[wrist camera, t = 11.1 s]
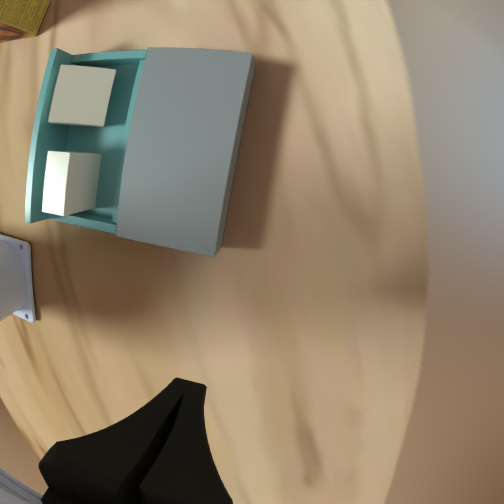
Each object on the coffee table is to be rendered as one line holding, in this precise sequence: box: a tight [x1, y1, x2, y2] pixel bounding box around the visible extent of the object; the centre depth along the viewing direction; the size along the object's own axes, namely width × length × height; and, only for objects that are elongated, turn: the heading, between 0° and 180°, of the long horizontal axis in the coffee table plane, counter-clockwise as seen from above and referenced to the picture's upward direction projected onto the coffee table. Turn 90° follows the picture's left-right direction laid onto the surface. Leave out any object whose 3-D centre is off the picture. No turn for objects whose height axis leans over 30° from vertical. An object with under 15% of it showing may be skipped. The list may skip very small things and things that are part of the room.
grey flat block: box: [116, 48, 256, 257], centre depth 19 cm, size 7×12×2 cm, turn 169°
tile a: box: [42, 151, 102, 216], centre depth 19 cm, size 4×4×2 cm
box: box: [25, 48, 147, 234], centre depth 18 cm, size 7×12×4 cm, turn 169°
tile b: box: [48, 65, 116, 128], centre depth 17 cm, size 4×4×2 cm
